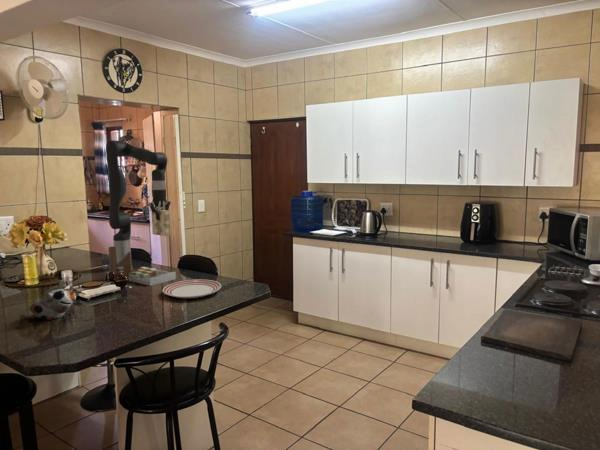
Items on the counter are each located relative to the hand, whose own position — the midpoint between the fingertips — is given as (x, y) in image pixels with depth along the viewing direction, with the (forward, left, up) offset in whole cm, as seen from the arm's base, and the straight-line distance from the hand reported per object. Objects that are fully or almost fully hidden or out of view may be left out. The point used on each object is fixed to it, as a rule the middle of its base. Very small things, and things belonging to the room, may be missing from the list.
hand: (160, 219), depth 247 cm
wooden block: (-10, -20, -31) cm, 38 cm away
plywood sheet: (0, 0, -9) cm, 9 cm away
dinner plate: (+43, -16, -31) cm, 56 cm away
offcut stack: (+6, -15, -31) cm, 35 cm away
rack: (+6, -12, -31) cm, 34 cm away
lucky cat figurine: (+21, -70, -31) cm, 80 cm away
